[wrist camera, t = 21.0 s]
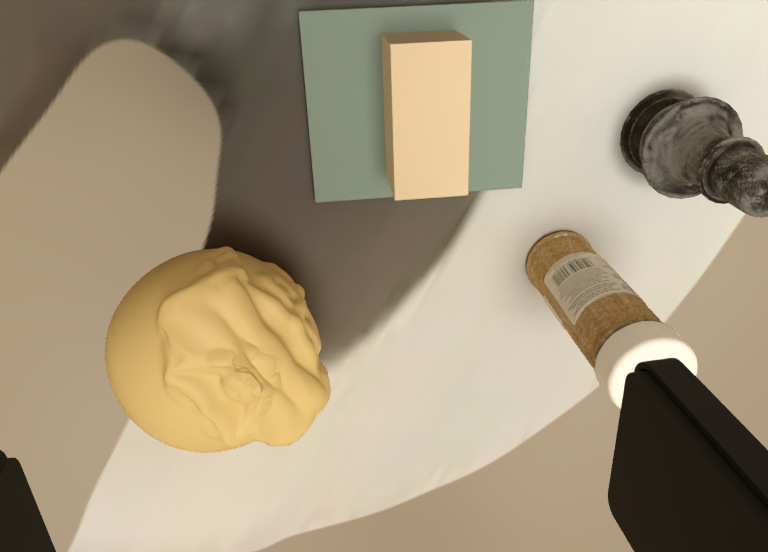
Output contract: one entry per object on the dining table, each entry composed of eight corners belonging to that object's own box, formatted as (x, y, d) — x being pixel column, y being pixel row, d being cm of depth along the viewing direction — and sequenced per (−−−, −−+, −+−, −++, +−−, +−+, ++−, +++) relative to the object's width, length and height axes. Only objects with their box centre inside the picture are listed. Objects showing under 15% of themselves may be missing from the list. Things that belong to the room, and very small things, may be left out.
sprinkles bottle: (530, 298, 45) (614, 428, 33) (519, 239, 42) (605, 357, 31) (595, 278, 44) (703, 403, 33) (587, 219, 42) (699, 329, 30)
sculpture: (350, 326, 44) (365, 433, 35) (204, 407, 46) (178, 531, 36) (251, 188, 39) (236, 270, 29) (90, 286, 41) (25, 393, 31)
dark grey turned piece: (659, 65, 38) (796, 113, 28) (728, 115, 40) (881, 178, 30) (596, 151, 40) (702, 227, 30) (664, 194, 42) (786, 280, 32)
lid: (315, 195, 40) (316, 228, 35) (298, 9, 35) (298, 19, 31) (516, 181, 41) (543, 211, 37) (527, -2, 36) (560, 6, 32)
